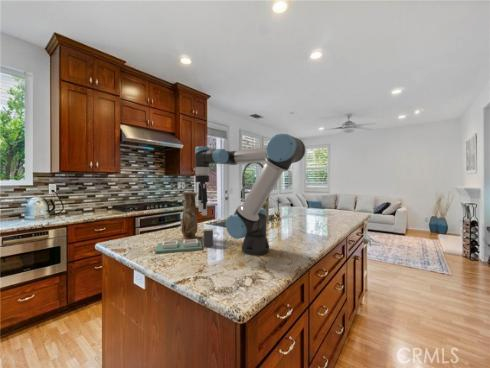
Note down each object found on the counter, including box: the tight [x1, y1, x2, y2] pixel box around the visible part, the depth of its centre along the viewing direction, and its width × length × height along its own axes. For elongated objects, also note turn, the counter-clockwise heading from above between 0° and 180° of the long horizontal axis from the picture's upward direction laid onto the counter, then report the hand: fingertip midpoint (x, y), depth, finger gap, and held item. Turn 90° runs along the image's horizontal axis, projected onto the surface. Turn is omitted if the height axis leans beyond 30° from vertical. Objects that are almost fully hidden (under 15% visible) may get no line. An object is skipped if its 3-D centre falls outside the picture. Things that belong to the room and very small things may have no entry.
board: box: [154, 238, 203, 254], centre depth 129 cm, size 24×14×3 cm, turn 105°
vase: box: [180, 191, 199, 240], centre depth 150 cm, size 10×11×30 cm
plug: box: [203, 228, 214, 248], centre depth 133 cm, size 5×4×9 cm
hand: (202, 213), depth 128 cm, fingers open, 13 cm apart
